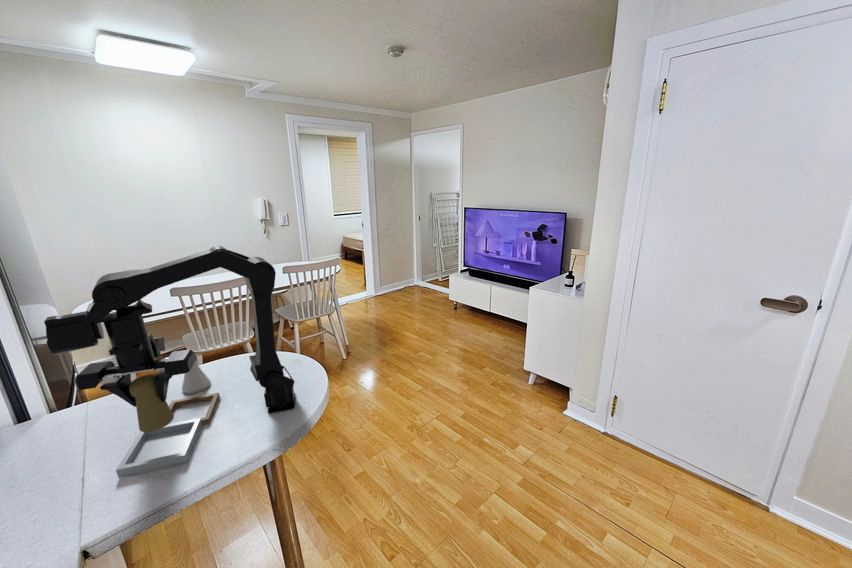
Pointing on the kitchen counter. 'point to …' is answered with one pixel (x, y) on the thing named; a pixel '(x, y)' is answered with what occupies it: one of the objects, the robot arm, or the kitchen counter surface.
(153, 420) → the cork
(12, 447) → the kitchen counter surface
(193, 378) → the flask
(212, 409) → the wooden picture frame
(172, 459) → the tray
